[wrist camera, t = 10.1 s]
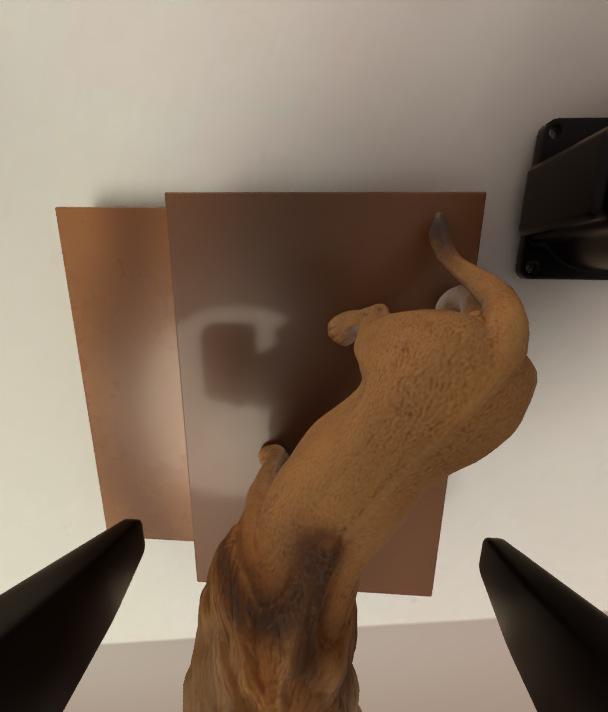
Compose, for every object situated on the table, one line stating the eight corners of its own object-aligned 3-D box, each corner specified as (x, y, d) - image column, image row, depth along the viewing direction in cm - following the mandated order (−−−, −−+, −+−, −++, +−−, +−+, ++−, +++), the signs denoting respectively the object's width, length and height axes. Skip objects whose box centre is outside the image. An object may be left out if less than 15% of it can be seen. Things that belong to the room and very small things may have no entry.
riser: (438, 217, 15) (487, 191, 10) (406, 523, 19) (432, 597, 14) (90, 216, 16) (1, 192, 11) (130, 509, 20) (76, 574, 15)
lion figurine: (336, 563, 14) (360, 1010, 6) (226, 523, 14) (70, 920, 5) (502, 244, 11) (1278, 92, 2) (358, 185, 11) (532, -266, 2)
